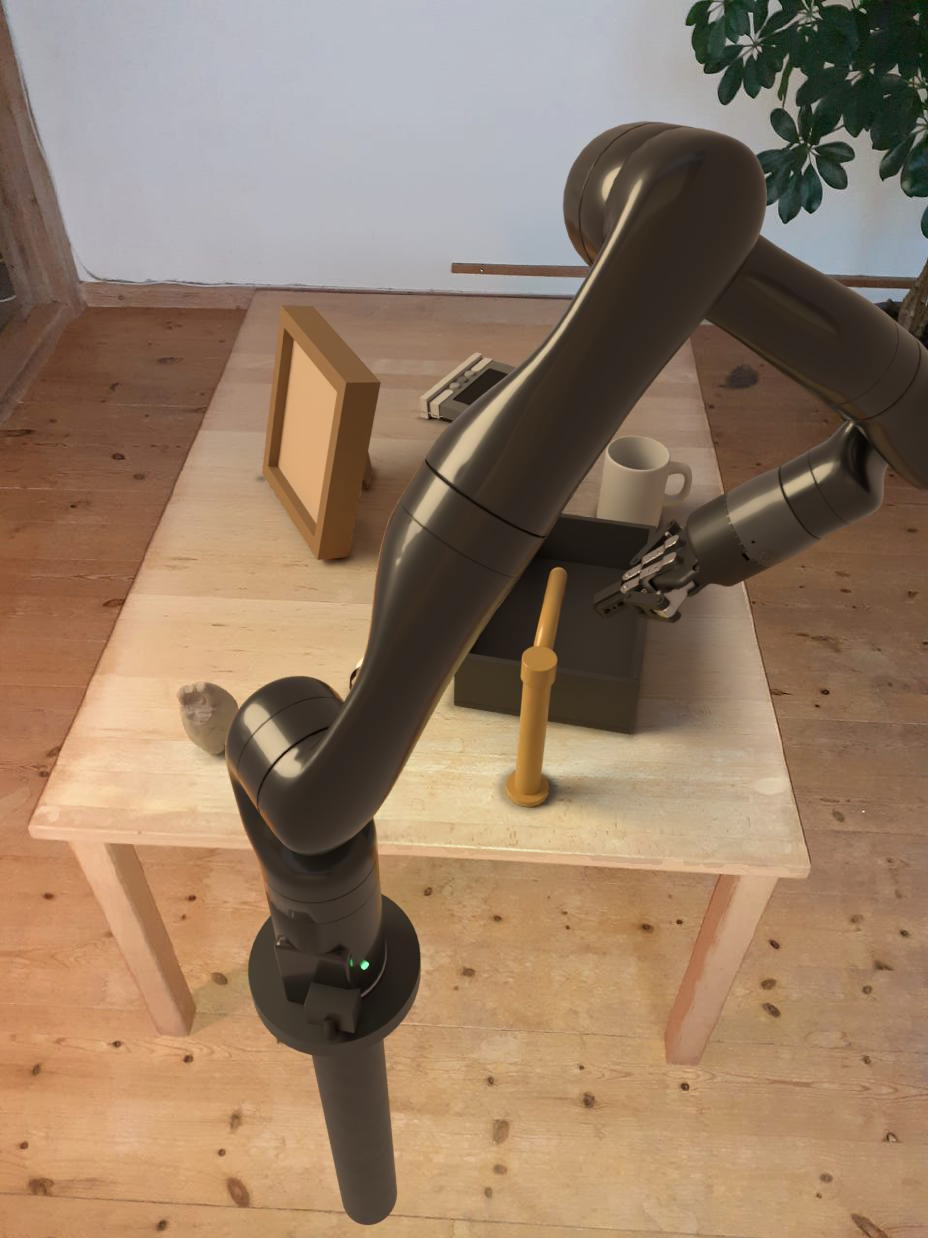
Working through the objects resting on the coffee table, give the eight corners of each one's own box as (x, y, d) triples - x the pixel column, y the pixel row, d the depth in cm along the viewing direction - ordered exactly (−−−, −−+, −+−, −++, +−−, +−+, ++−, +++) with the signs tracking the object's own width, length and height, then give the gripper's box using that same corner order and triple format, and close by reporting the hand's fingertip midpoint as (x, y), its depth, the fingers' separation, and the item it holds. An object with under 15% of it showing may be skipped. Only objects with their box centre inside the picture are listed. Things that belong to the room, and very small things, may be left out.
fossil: (242, 727, 106) (228, 663, 100) (248, 751, 104) (235, 686, 97) (188, 742, 105) (170, 677, 98) (193, 766, 102) (176, 701, 96)
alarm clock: (475, 352, 162) (564, 371, 155) (476, 377, 165) (564, 397, 158) (419, 397, 151) (512, 420, 144) (422, 424, 154) (513, 448, 147)
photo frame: (318, 566, 126) (299, 393, 109) (262, 478, 140) (238, 313, 123) (422, 534, 132) (419, 365, 115) (358, 453, 146) (347, 291, 129)
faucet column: (545, 810, 99) (558, 699, 88) (502, 802, 100) (510, 691, 88) (551, 776, 102) (564, 665, 91) (509, 769, 103) (518, 657, 92)
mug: (600, 539, 131) (609, 471, 124) (592, 501, 138) (601, 434, 130) (689, 539, 132) (704, 471, 124) (677, 502, 138) (691, 434, 130)
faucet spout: (550, 709, 90) (555, 673, 86) (516, 703, 90) (519, 667, 87) (572, 596, 101) (576, 561, 98) (541, 591, 102) (545, 556, 98)
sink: (630, 734, 107) (640, 685, 101) (453, 705, 109) (454, 656, 104) (647, 574, 126) (656, 525, 121) (497, 552, 129) (500, 504, 124)
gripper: (732, 453, 88) (583, 540, 98) (726, 544, 78) (561, 629, 89) (779, 510, 90) (629, 589, 101) (778, 604, 81) (613, 680, 91)
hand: (598, 607), depth 95 cm, fingers closed
